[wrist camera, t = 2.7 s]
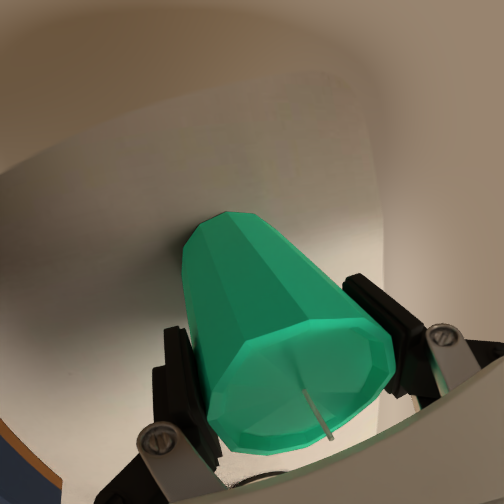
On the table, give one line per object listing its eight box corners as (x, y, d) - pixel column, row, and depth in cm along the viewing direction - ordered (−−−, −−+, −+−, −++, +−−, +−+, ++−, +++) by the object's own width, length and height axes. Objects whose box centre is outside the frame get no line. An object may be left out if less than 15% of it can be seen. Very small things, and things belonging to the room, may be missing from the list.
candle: (280, 202, 17) (446, 315, 6) (287, 296, 19) (399, 447, 9) (170, 222, 16) (187, 403, 5) (192, 318, 18) (237, 507, 7)
